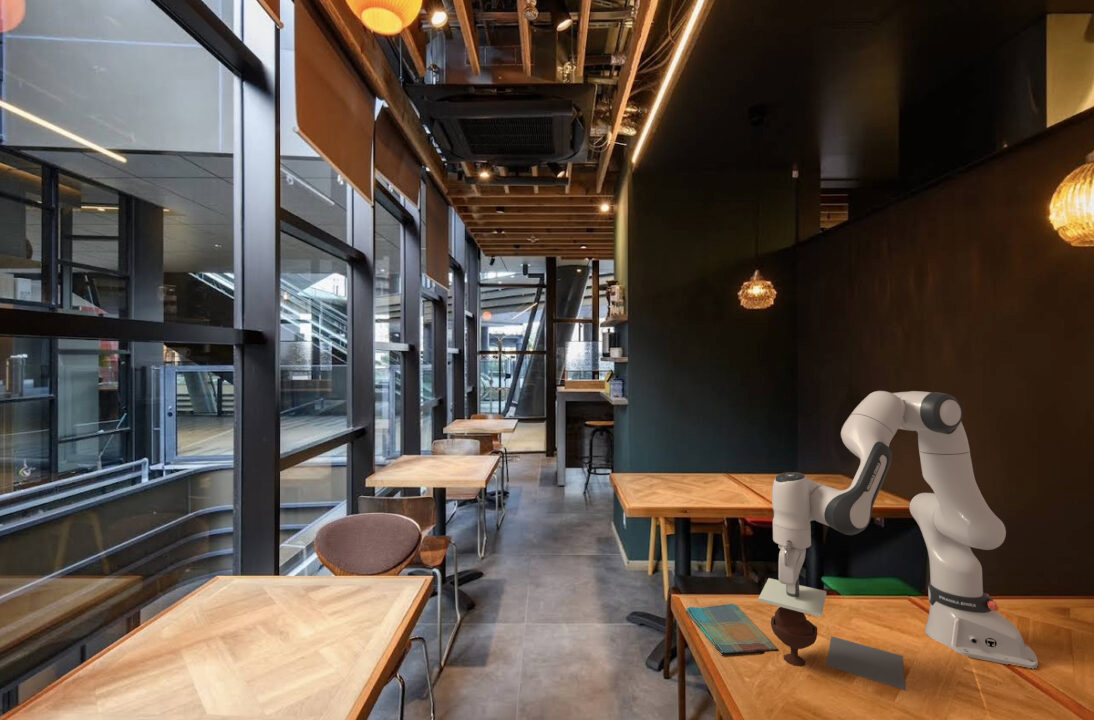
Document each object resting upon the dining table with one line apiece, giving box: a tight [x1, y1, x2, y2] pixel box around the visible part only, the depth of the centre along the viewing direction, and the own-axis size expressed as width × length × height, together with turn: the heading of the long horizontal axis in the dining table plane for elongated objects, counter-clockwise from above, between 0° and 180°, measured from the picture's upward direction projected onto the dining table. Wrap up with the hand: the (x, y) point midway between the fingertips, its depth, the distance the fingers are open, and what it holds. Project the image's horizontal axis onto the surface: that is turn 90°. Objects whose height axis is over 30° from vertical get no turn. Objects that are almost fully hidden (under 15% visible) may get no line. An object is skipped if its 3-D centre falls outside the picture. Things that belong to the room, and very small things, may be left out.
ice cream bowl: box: [770, 607, 818, 667], centre depth 120 cm, size 11×11×15 cm
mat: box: [826, 636, 907, 691], centre depth 119 cm, size 16×16×1 cm
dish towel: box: [685, 603, 780, 657], centre depth 135 cm, size 17×23×2 cm
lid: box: [758, 577, 827, 618], centre depth 120 cm, size 14×14×5 cm
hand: (793, 589), depth 120 cm, fingers closed on lid, 3 cm apart
